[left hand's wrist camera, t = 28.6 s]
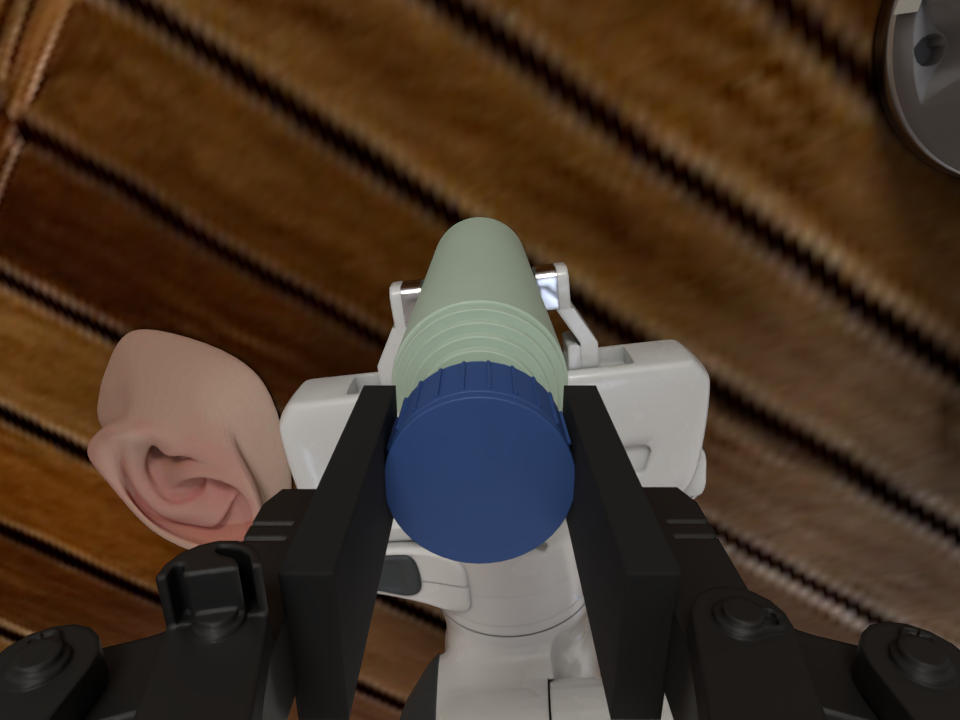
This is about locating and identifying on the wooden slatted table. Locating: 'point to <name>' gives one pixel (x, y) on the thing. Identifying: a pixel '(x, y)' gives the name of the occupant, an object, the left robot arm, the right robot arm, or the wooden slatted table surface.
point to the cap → (479, 464)
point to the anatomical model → (187, 438)
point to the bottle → (479, 312)
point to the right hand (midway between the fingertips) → (476, 274)
